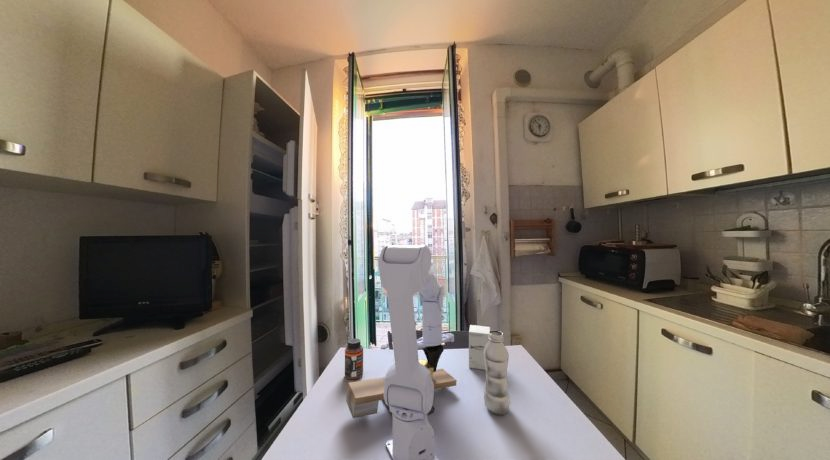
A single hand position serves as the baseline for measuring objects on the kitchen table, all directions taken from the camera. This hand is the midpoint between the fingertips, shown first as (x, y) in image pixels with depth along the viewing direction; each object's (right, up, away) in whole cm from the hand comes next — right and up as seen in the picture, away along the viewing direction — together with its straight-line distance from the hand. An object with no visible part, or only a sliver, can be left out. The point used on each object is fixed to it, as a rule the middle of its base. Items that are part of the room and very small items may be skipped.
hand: (432, 370), depth 72 cm
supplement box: (+18, -7, +15) cm, 25 cm away
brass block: (-4, -1, -2) cm, 4 cm away
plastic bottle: (+16, -6, -7) cm, 19 cm away
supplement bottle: (-25, -7, +9) cm, 28 cm away
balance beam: (-8, -5, -5) cm, 11 cm away
